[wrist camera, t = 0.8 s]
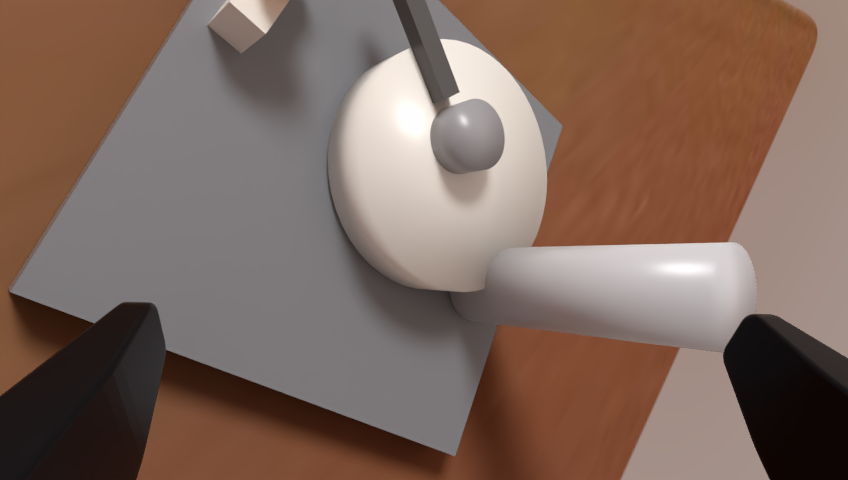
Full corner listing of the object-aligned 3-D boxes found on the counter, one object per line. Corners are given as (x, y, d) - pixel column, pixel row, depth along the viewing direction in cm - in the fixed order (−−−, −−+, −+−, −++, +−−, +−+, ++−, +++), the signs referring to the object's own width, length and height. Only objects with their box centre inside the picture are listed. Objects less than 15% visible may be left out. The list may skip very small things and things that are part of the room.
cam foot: (239, 5, 17) (461, -215, 9) (437, -46, 22) (688, -215, 14) (414, 380, 21) (678, 454, 13) (548, 263, 26) (796, 265, 18)
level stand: (431, 446, 23) (526, 485, 19) (8, 289, 14) (17, 301, 10) (538, 131, 28) (632, 109, 24) (269, -127, 19) (346, -230, 15)
